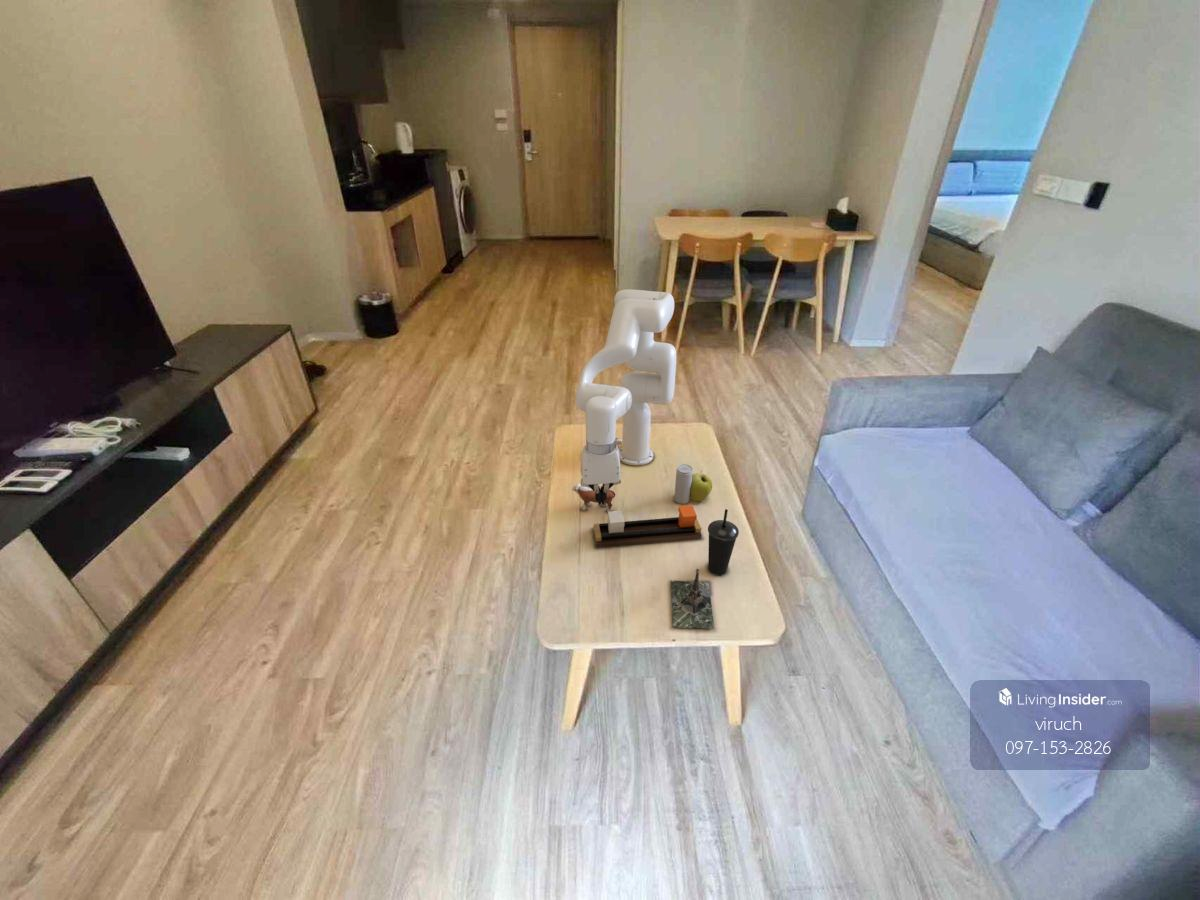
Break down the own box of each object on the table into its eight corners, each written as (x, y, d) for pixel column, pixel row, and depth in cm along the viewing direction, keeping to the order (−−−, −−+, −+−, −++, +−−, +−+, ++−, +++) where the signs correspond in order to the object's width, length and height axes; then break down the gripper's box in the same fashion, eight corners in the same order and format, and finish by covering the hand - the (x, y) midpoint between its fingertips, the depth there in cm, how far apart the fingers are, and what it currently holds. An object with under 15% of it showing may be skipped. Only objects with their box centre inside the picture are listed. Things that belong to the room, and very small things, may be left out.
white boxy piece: (607, 526, 154) (607, 511, 151) (621, 525, 155) (621, 510, 152) (610, 538, 150) (610, 523, 147) (624, 537, 151) (624, 521, 148)
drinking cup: (697, 563, 144) (704, 505, 133) (721, 555, 147) (730, 497, 136) (713, 582, 138) (722, 523, 127) (737, 574, 141) (748, 515, 130)
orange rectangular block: (677, 520, 156) (678, 505, 153) (690, 519, 157) (692, 504, 154) (681, 532, 152) (682, 516, 149) (695, 531, 152) (696, 515, 150)
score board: (593, 529, 156) (593, 525, 155) (693, 520, 159) (694, 516, 158) (596, 548, 149) (596, 544, 149) (701, 538, 152) (701, 534, 152)
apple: (677, 492, 169) (687, 465, 165) (696, 492, 173) (707, 465, 169) (690, 506, 163) (702, 478, 159) (710, 506, 167) (722, 479, 163)
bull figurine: (573, 500, 168) (572, 479, 163) (615, 506, 165) (616, 484, 161) (570, 509, 164) (569, 488, 160) (613, 514, 162) (613, 493, 157)
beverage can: (686, 506, 165) (689, 474, 158) (671, 502, 167) (674, 470, 160) (691, 498, 168) (695, 466, 162) (677, 493, 170) (680, 462, 164)
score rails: (593, 527, 154) (593, 523, 154) (695, 519, 157) (695, 515, 157) (596, 541, 149) (596, 537, 149) (700, 532, 152) (701, 528, 152)
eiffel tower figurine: (669, 581, 139) (672, 542, 132) (708, 582, 138) (714, 544, 131) (672, 628, 126) (676, 588, 119) (715, 630, 126) (722, 590, 118)
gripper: (627, 434, 140) (625, 491, 149) (570, 438, 138) (572, 495, 148) (632, 449, 134) (630, 508, 143) (572, 453, 132) (574, 512, 142)
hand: (600, 501), depth 146 cm, fingers closed
